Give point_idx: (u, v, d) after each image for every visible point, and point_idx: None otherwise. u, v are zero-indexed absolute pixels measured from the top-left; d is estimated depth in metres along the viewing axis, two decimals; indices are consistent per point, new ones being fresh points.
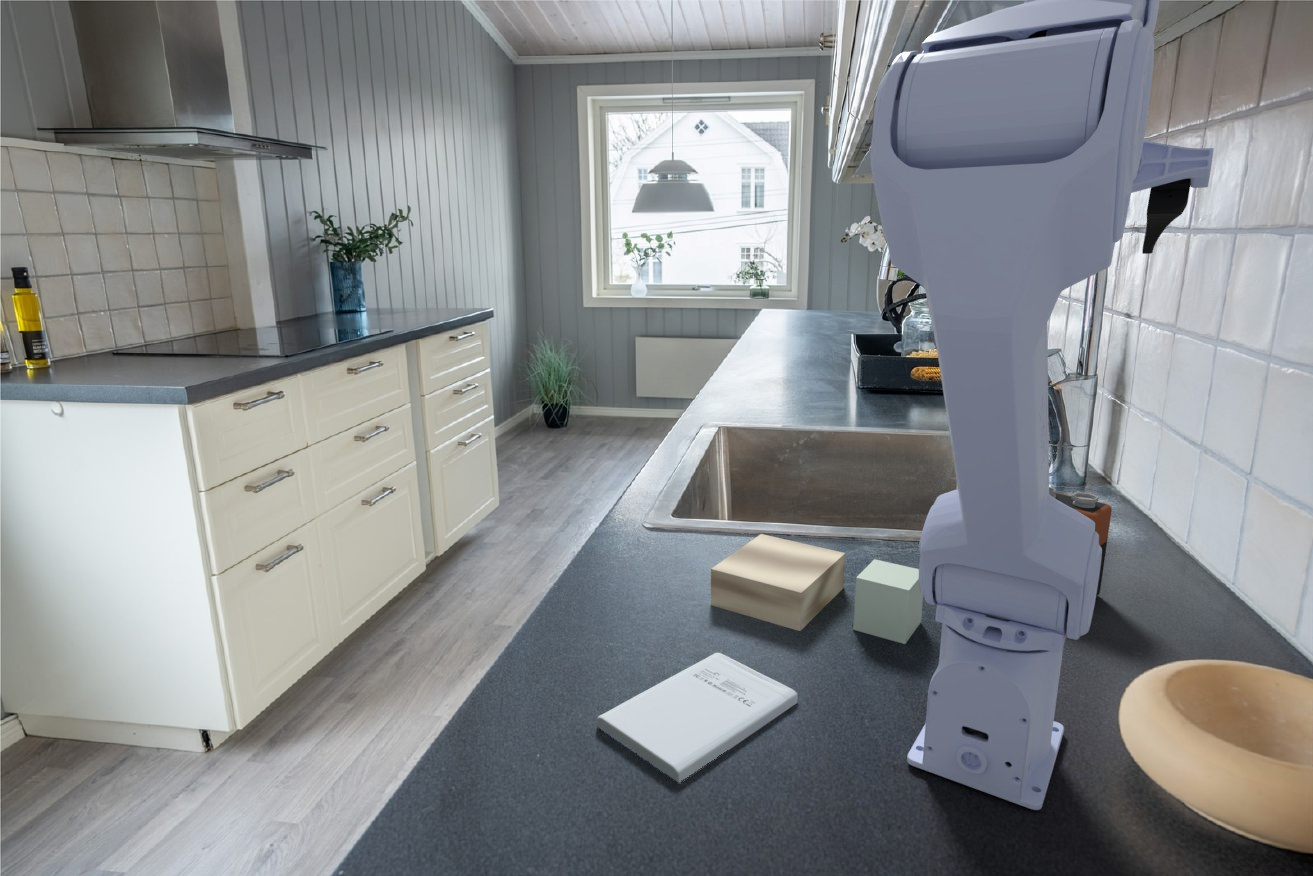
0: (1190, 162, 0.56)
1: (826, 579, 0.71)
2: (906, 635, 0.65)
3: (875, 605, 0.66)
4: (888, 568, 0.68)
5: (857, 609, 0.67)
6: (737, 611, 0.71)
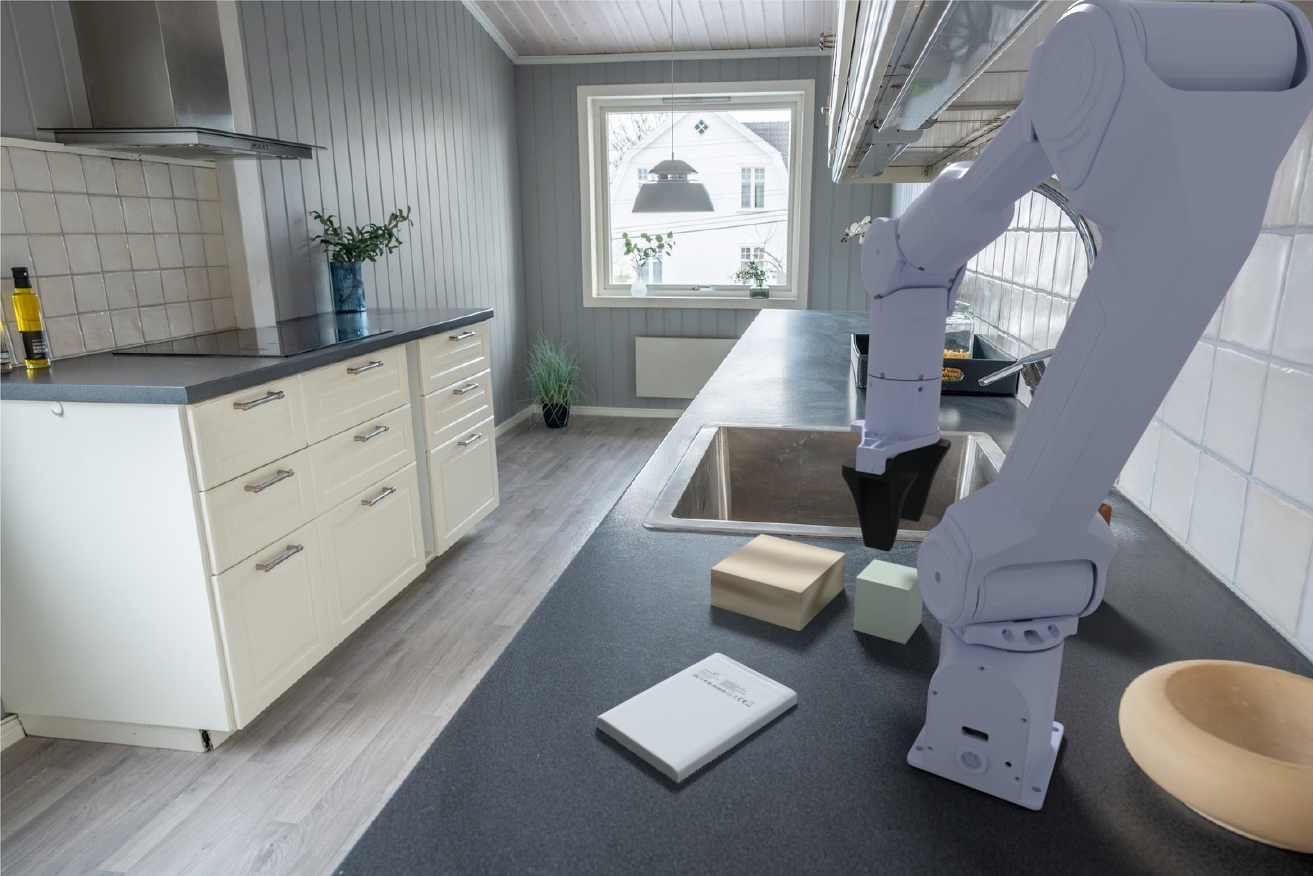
0: None
1: (826, 579, 0.71)
2: (906, 635, 0.65)
3: (875, 605, 0.66)
4: (888, 568, 0.68)
5: (857, 609, 0.67)
6: (737, 611, 0.71)
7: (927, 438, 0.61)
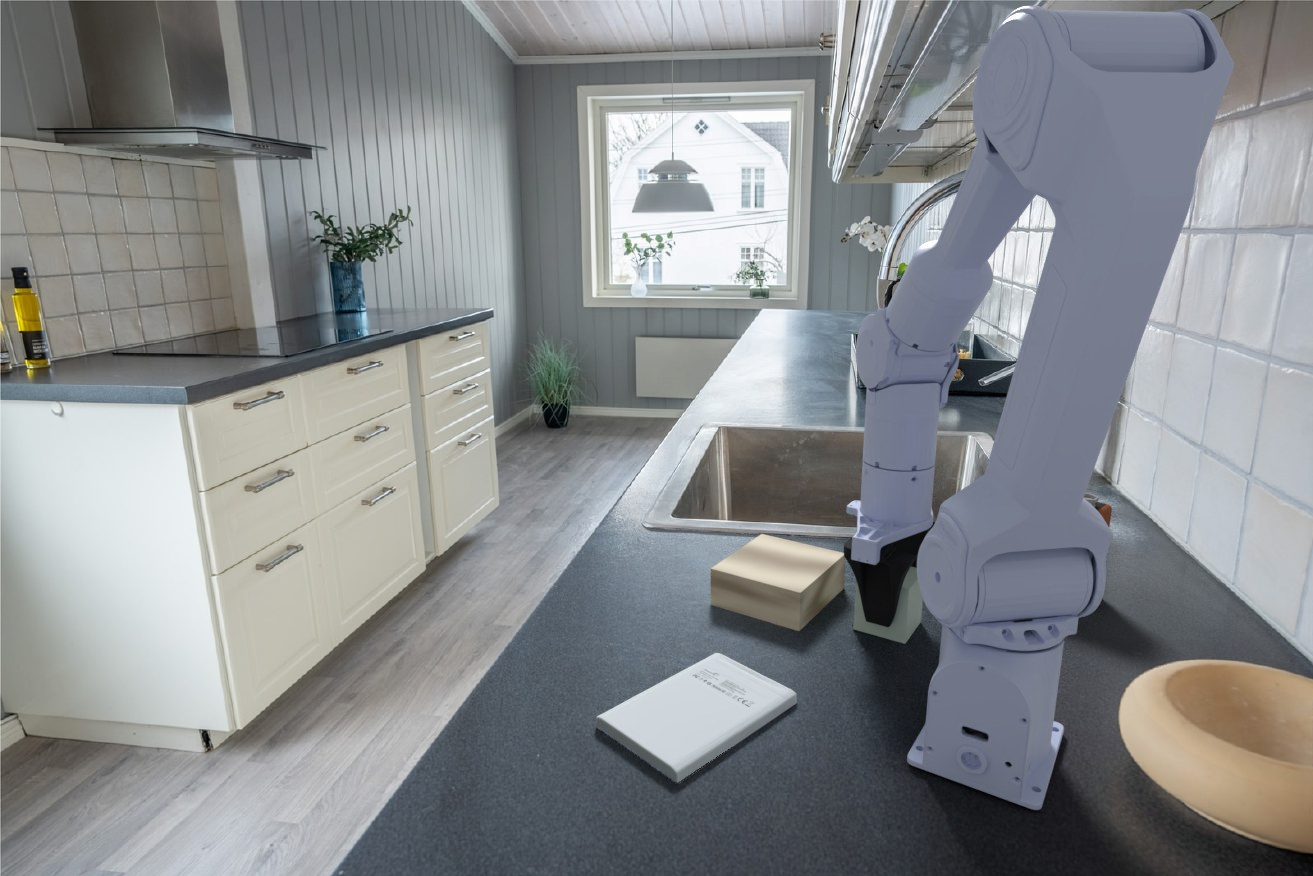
0: None
1: (826, 579, 0.71)
2: (906, 634, 0.65)
3: None
4: None
5: (857, 608, 0.67)
6: (737, 611, 0.71)
7: (920, 525, 0.62)
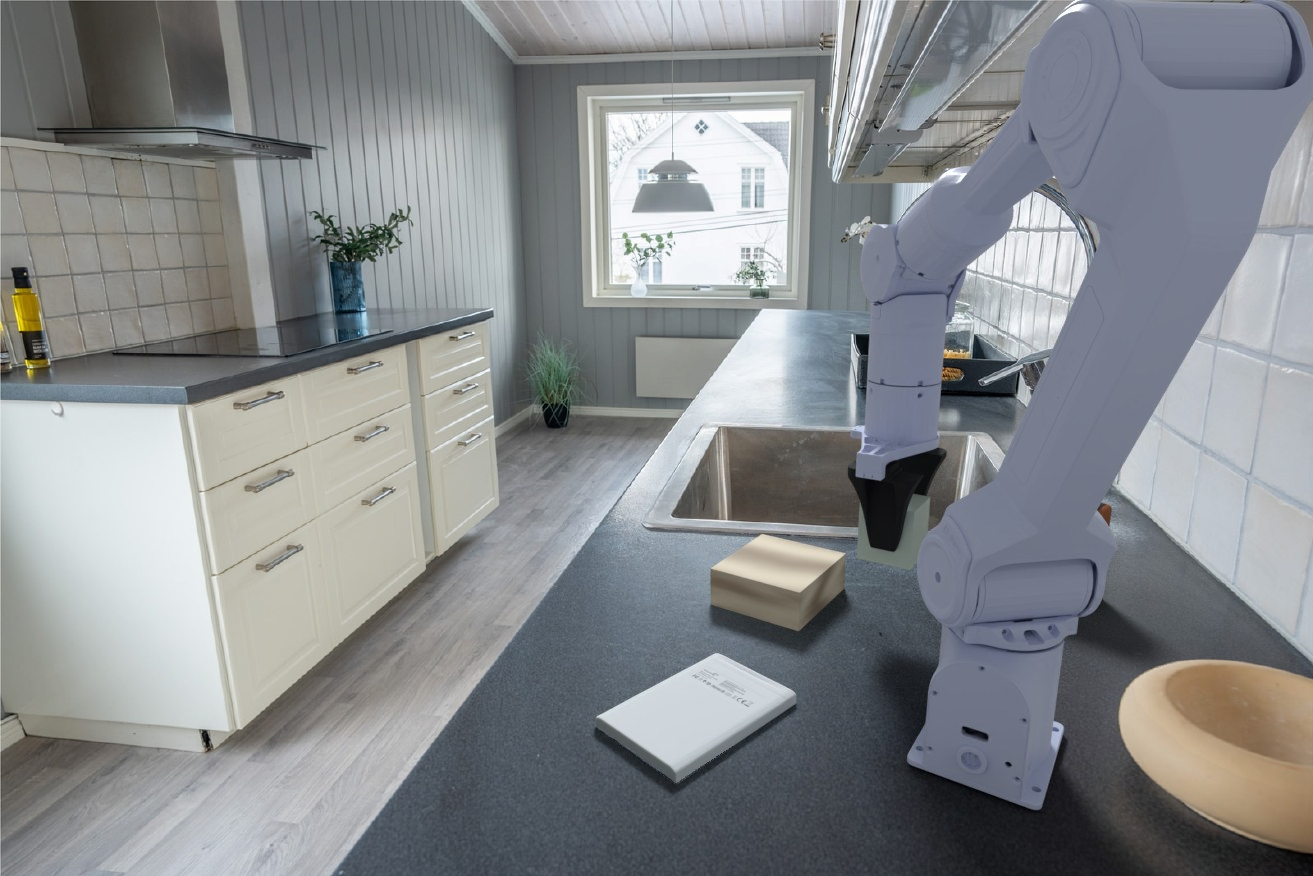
0: None
1: (826, 579, 0.71)
2: (911, 560, 0.63)
3: None
4: None
5: (861, 536, 0.65)
6: (736, 611, 0.71)
7: (927, 444, 0.61)
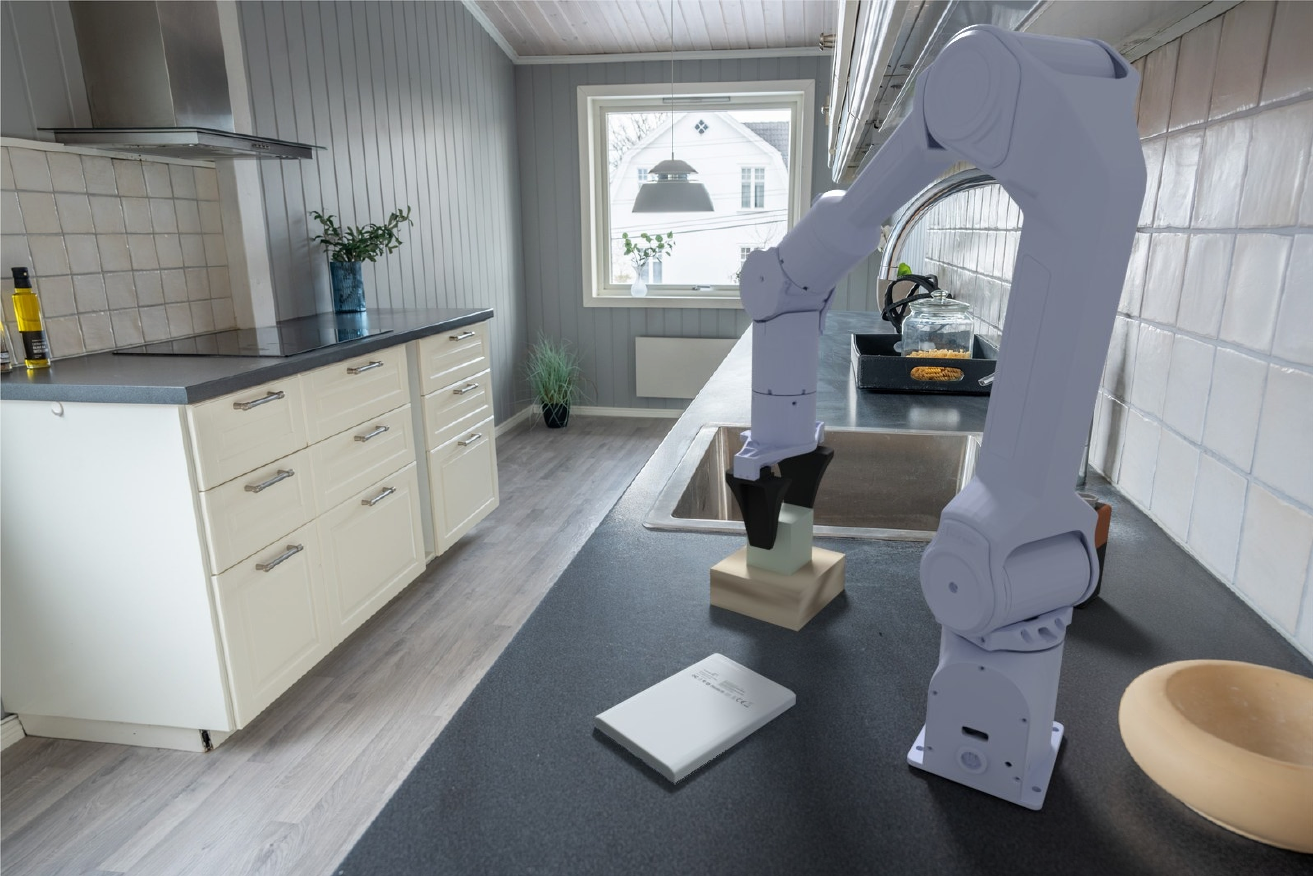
0: None
1: (826, 580, 0.71)
2: (791, 567, 0.70)
3: None
4: None
5: (749, 544, 0.71)
6: (736, 611, 0.71)
7: (802, 447, 0.67)
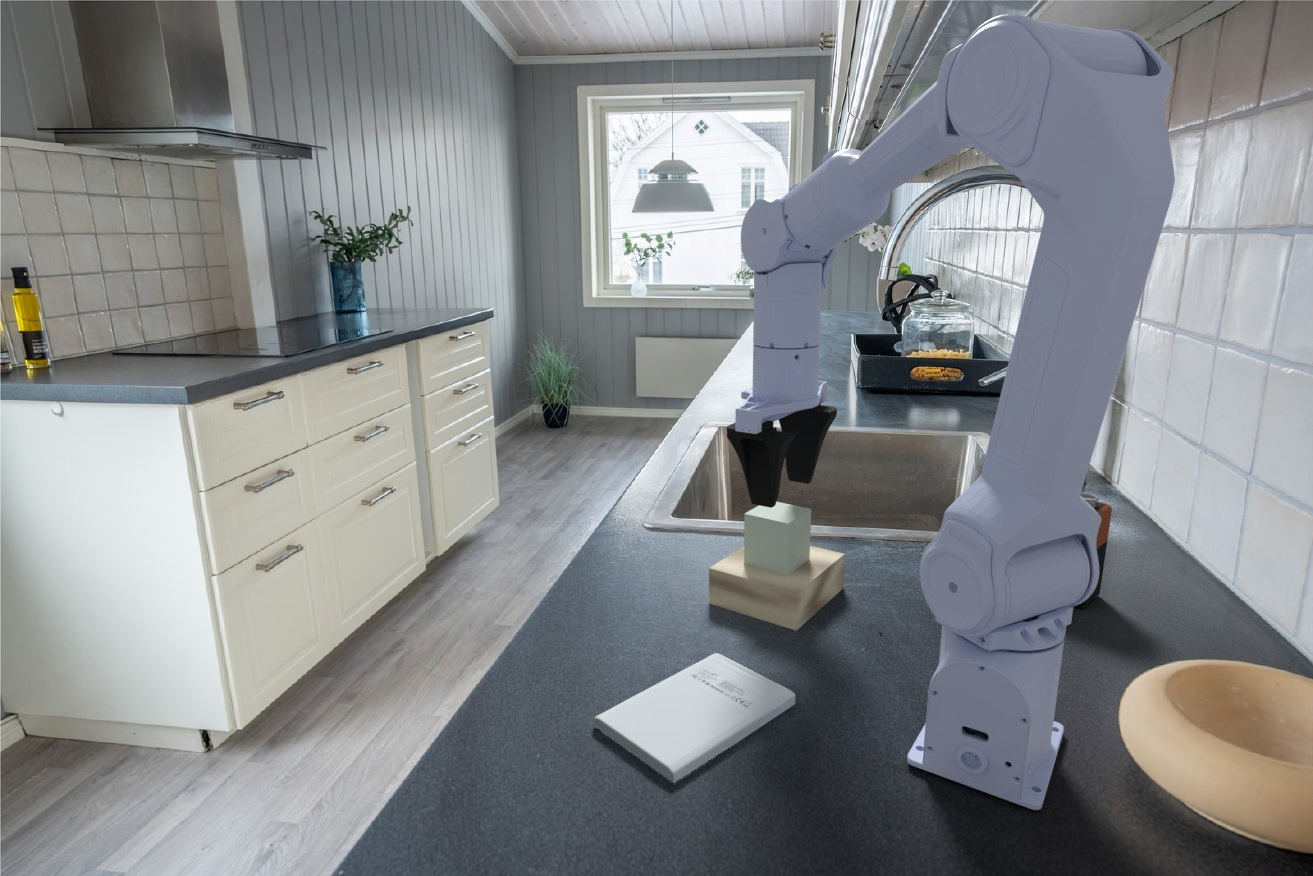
0: None
1: (824, 580, 0.71)
2: (788, 567, 0.70)
3: (761, 539, 0.71)
4: (777, 507, 0.73)
5: (747, 544, 0.72)
6: (735, 610, 0.71)
7: (804, 402, 0.66)
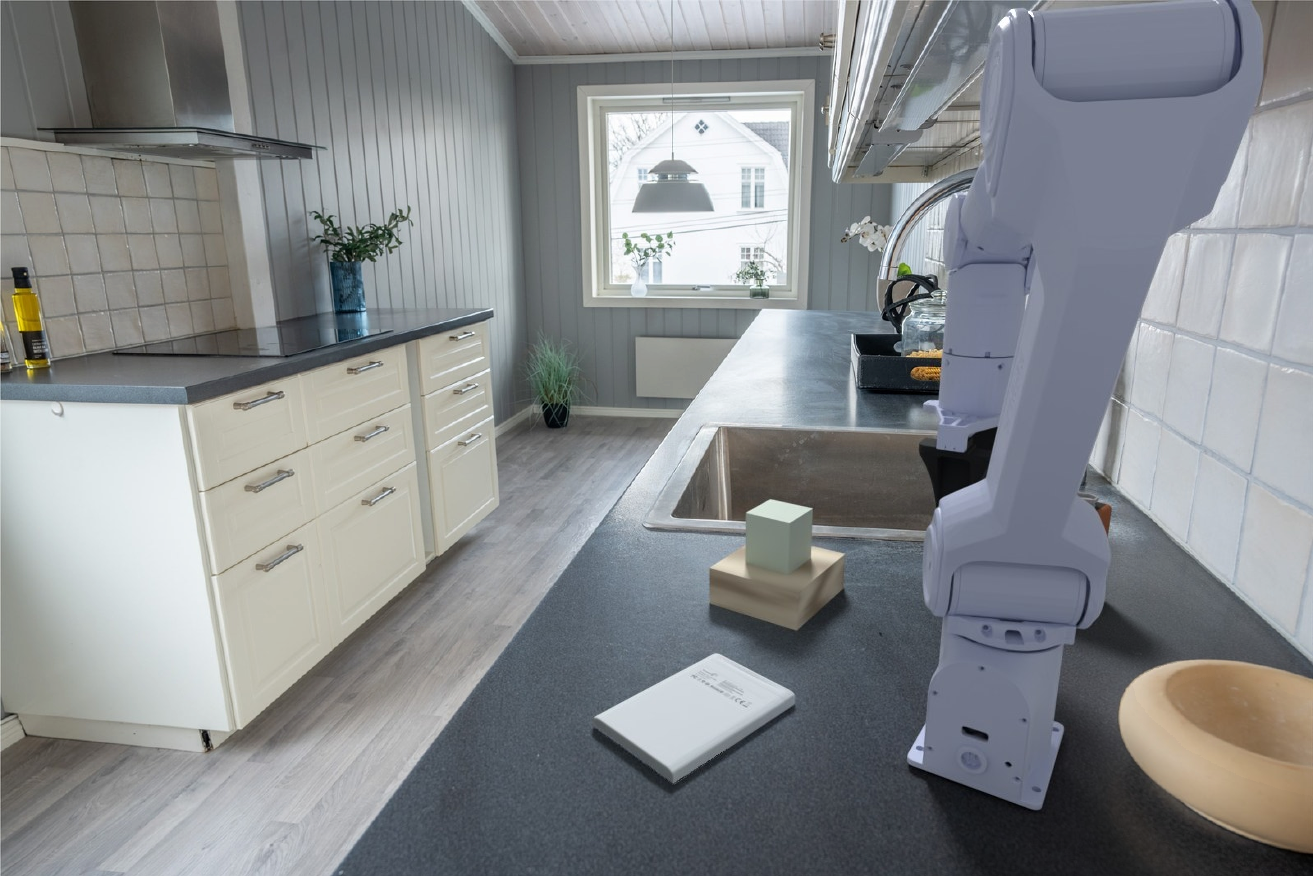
0: None
1: (825, 580, 0.71)
2: (789, 566, 0.70)
3: (762, 539, 0.71)
4: (779, 506, 0.73)
5: (748, 543, 0.72)
6: (735, 610, 0.71)
7: None
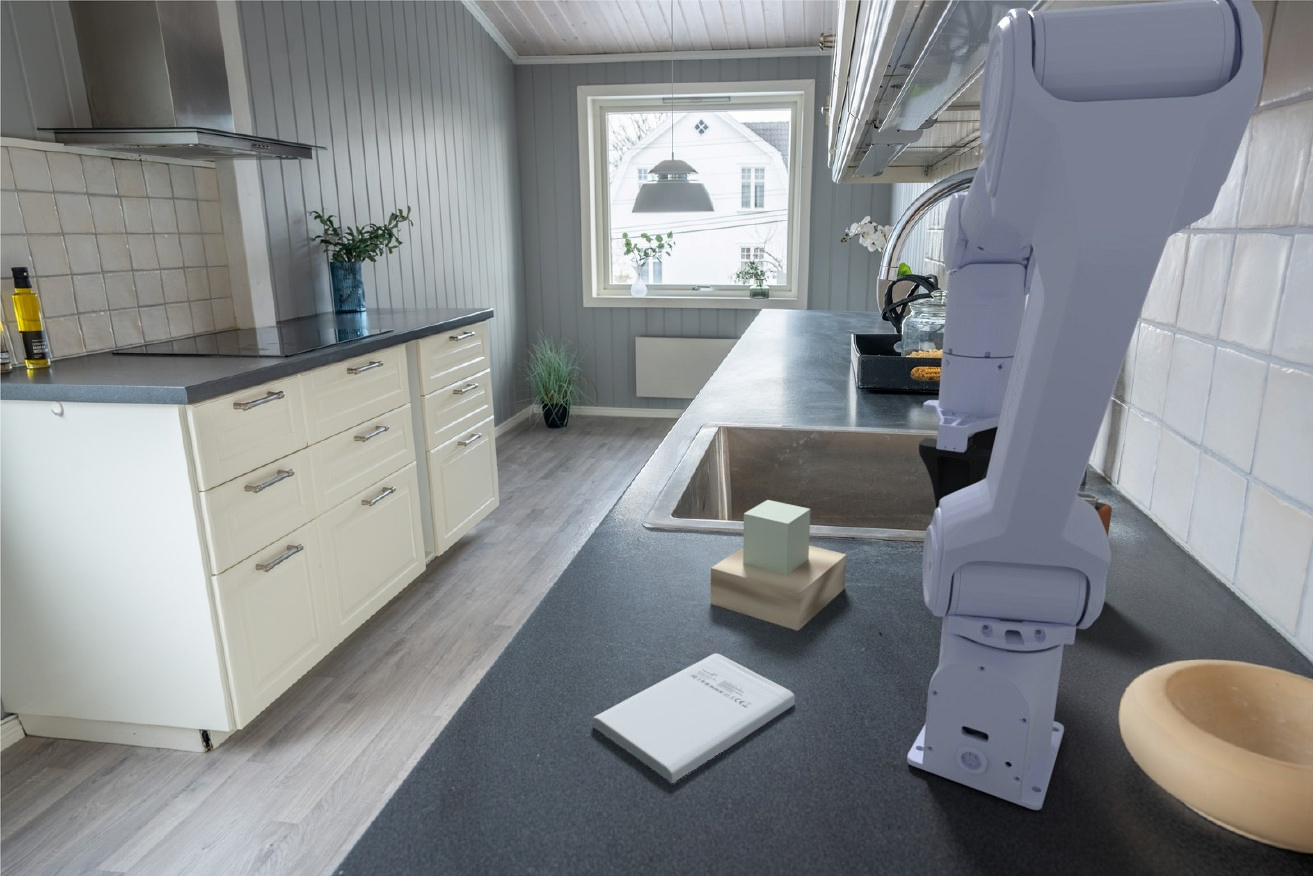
0: None
1: (826, 580, 0.71)
2: (787, 566, 0.70)
3: (760, 539, 0.71)
4: (777, 507, 0.73)
5: (746, 543, 0.72)
6: (736, 610, 0.71)
7: None
